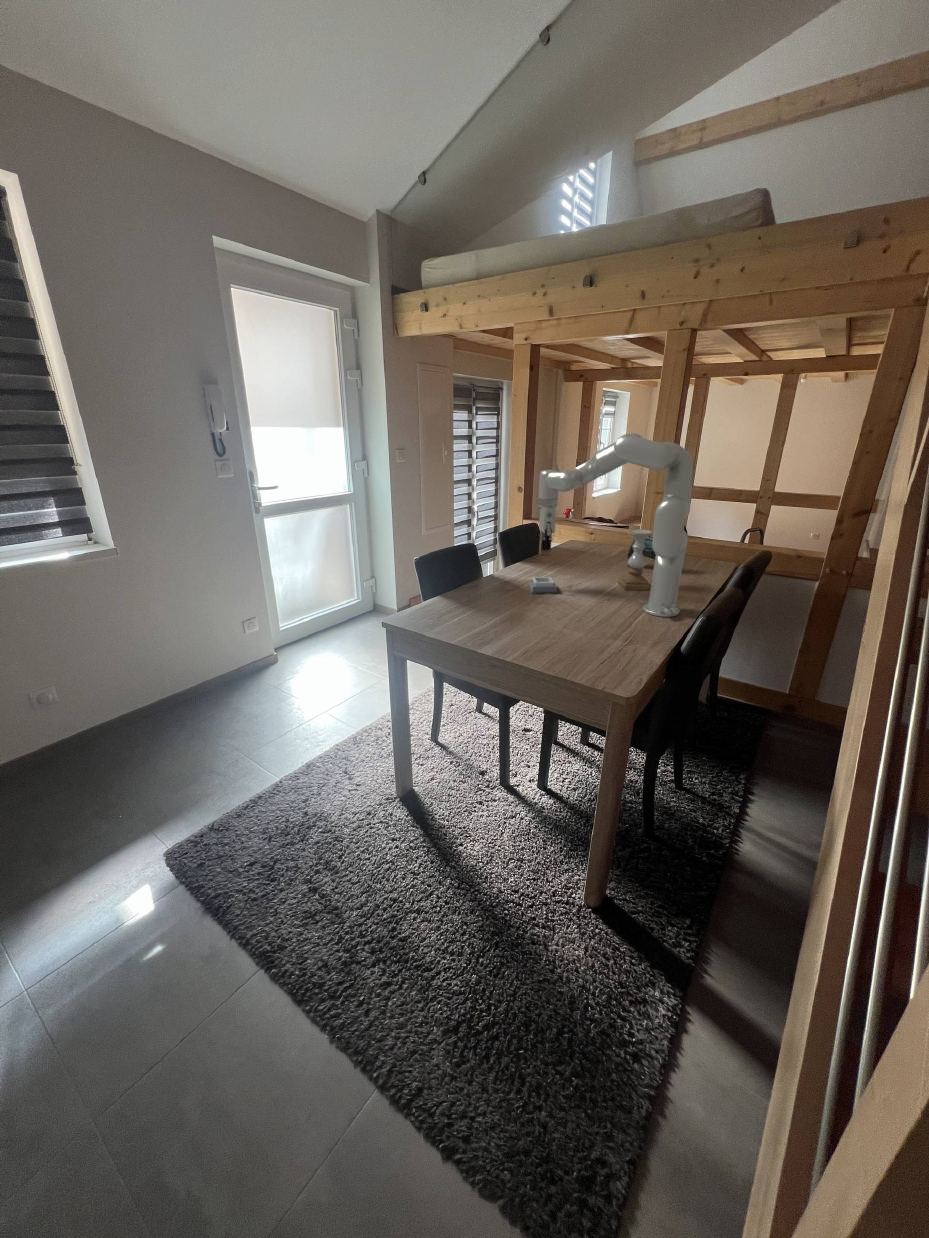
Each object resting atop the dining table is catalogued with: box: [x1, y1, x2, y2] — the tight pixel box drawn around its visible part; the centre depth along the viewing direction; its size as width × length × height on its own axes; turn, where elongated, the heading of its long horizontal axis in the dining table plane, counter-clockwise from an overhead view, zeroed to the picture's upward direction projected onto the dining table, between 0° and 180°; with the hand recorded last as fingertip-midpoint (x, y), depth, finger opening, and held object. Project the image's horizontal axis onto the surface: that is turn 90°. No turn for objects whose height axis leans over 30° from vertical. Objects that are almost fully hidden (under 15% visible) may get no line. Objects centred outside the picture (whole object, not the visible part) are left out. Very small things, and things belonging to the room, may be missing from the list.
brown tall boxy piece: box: [538, 529, 553, 557], centre depth 199 cm, size 4×4×12 cm
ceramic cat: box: [627, 536, 656, 568], centre depth 232 cm, size 20×6×20 cm, turn 46°
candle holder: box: [617, 528, 653, 591], centre depth 207 cm, size 11×11×24 cm
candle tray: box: [528, 576, 558, 595], centre depth 207 cm, size 10×10×4 cm
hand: (544, 547), depth 201 cm, fingers closed on brown tall boxy piece, 3 cm apart
